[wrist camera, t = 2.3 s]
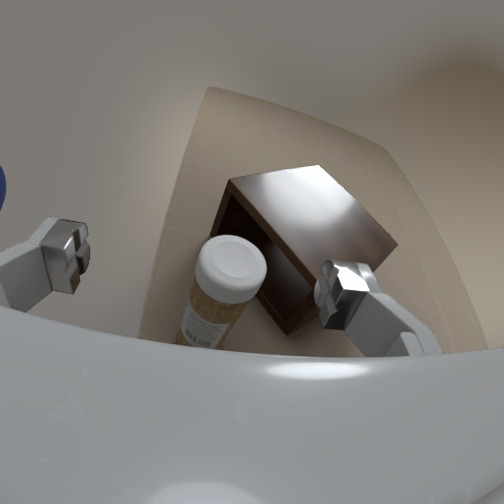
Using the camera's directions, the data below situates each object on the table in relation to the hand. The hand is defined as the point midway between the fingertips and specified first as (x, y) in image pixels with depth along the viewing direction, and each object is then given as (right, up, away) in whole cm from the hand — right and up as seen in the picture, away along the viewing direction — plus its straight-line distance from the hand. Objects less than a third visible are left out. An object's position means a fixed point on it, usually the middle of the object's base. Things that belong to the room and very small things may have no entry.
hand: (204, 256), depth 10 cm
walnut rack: (+7, -1, +31) cm, 32 cm away
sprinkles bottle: (-4, -9, +19) cm, 22 cm away
